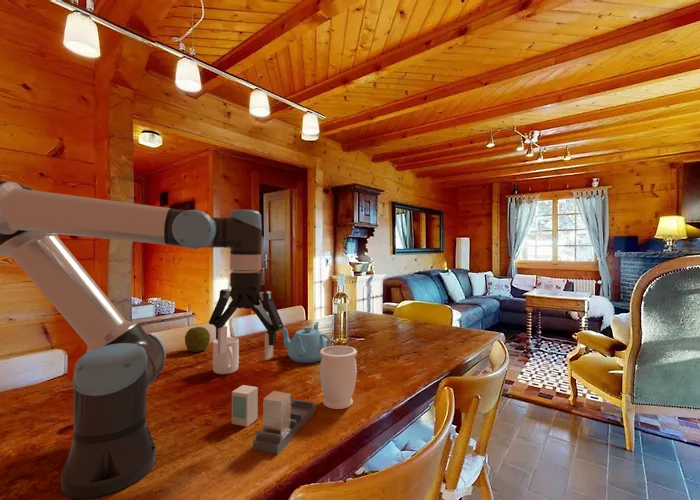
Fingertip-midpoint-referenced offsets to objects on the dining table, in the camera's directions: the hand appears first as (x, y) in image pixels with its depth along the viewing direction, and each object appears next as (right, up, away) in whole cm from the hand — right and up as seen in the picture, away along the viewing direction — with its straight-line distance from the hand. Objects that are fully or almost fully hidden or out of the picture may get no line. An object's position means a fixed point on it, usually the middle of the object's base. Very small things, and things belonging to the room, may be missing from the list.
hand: (245, 355), depth 87 cm
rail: (+11, -17, -4) cm, 21 cm away
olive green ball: (-38, -16, +57) cm, 70 cm away
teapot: (+9, -17, +51) cm, 54 cm away
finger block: (0, -17, 0) cm, 17 cm away
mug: (-17, -16, +34) cm, 41 cm away
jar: (+23, -17, +10) cm, 31 cm away
